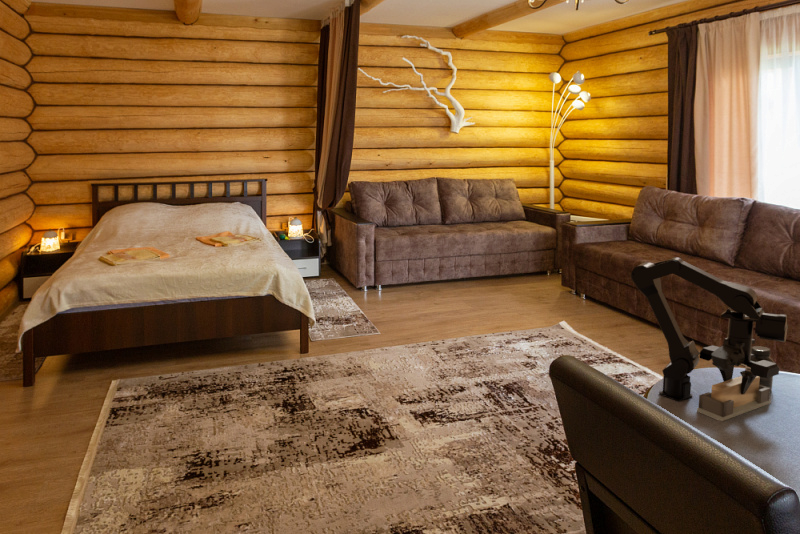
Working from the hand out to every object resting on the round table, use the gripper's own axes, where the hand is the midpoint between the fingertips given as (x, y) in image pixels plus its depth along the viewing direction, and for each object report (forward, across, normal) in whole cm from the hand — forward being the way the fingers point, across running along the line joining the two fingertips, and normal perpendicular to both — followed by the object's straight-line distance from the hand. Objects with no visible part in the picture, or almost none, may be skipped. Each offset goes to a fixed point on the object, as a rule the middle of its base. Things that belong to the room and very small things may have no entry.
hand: (735, 391), depth 166 cm
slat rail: (+4, 0, 0) cm, 4 cm away
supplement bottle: (+5, -4, +18) cm, 19 cm away
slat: (+4, 0, 0) cm, 4 cm away
